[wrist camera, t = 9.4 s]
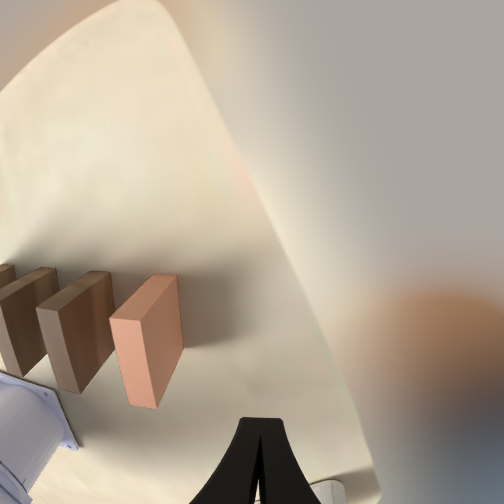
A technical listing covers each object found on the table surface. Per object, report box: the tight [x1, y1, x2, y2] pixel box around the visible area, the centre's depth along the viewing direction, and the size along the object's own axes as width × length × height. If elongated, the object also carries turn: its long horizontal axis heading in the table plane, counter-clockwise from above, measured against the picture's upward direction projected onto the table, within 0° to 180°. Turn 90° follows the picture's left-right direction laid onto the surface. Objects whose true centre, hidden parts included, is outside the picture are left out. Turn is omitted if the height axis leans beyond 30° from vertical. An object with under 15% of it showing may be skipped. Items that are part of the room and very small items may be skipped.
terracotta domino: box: [109, 274, 184, 409], centre depth 16 cm, size 2×5×6 cm, turn 0°
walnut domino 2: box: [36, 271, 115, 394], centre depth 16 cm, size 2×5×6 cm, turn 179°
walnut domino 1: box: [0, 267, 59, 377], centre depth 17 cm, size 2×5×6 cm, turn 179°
